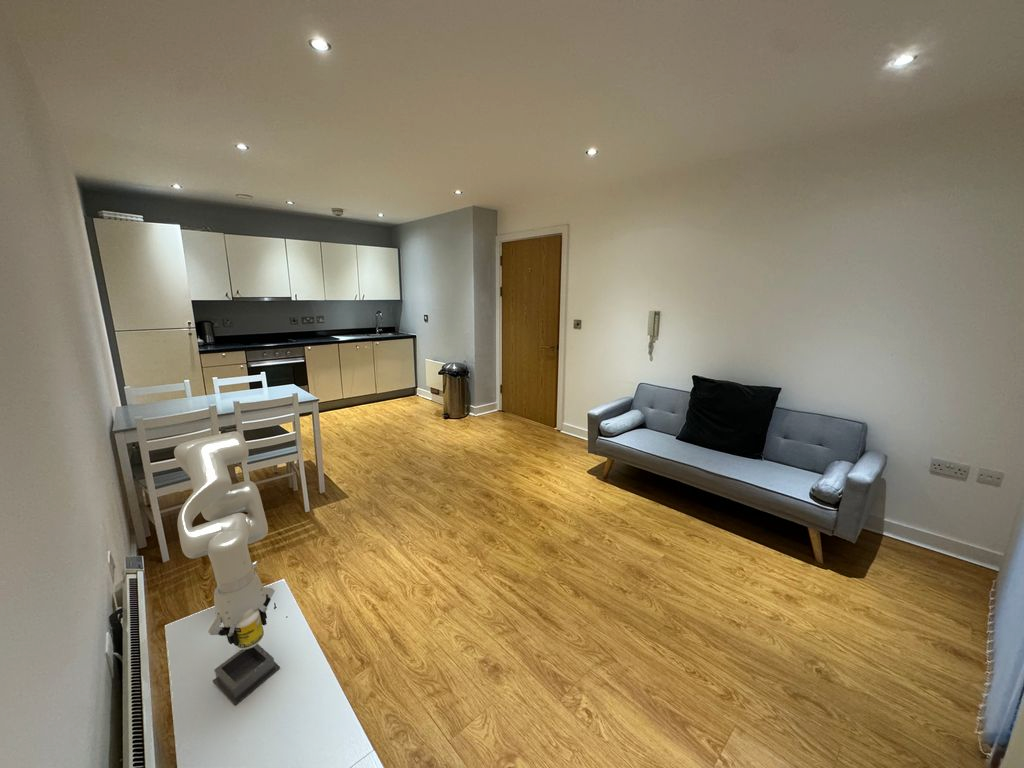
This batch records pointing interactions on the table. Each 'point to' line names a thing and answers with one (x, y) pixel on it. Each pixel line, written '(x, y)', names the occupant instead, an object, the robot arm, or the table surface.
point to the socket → (244, 673)
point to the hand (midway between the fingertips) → (248, 632)
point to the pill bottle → (249, 629)
